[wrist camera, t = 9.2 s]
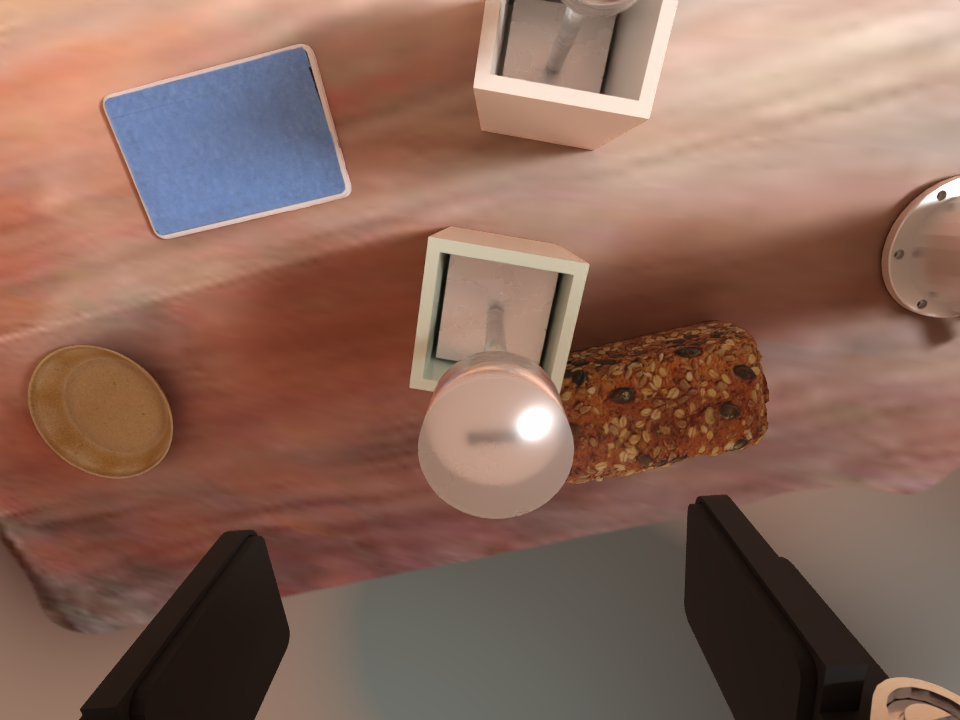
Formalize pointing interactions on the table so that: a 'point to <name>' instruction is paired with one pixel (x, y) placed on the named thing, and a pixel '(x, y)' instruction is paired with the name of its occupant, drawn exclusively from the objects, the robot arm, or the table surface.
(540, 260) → the press sage
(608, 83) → the press white
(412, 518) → the table surface
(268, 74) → the tablet computer
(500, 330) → the silver rod piece
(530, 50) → the plunger white
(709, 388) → the bread
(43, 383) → the plant saucer
